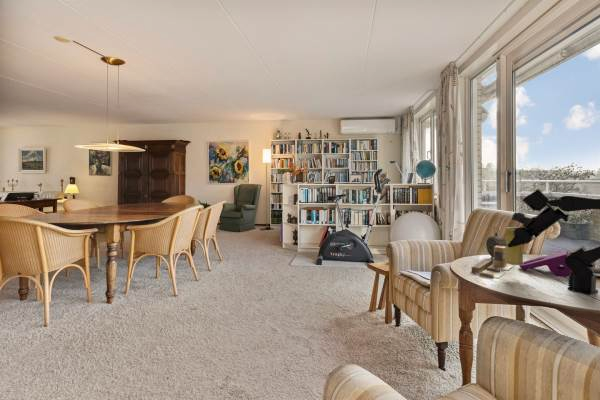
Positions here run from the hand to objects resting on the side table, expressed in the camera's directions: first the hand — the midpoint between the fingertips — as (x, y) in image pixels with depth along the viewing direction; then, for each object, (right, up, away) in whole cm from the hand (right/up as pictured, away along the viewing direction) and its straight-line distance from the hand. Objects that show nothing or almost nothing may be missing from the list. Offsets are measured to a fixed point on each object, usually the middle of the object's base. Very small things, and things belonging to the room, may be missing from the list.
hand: (510, 245), depth 131 cm
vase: (+1, -7, -1) cm, 7 cm away
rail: (-1, -13, +11) cm, 17 cm away
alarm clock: (+11, -11, +29) cm, 33 cm away
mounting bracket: (+20, -13, +8) cm, 25 cm away
